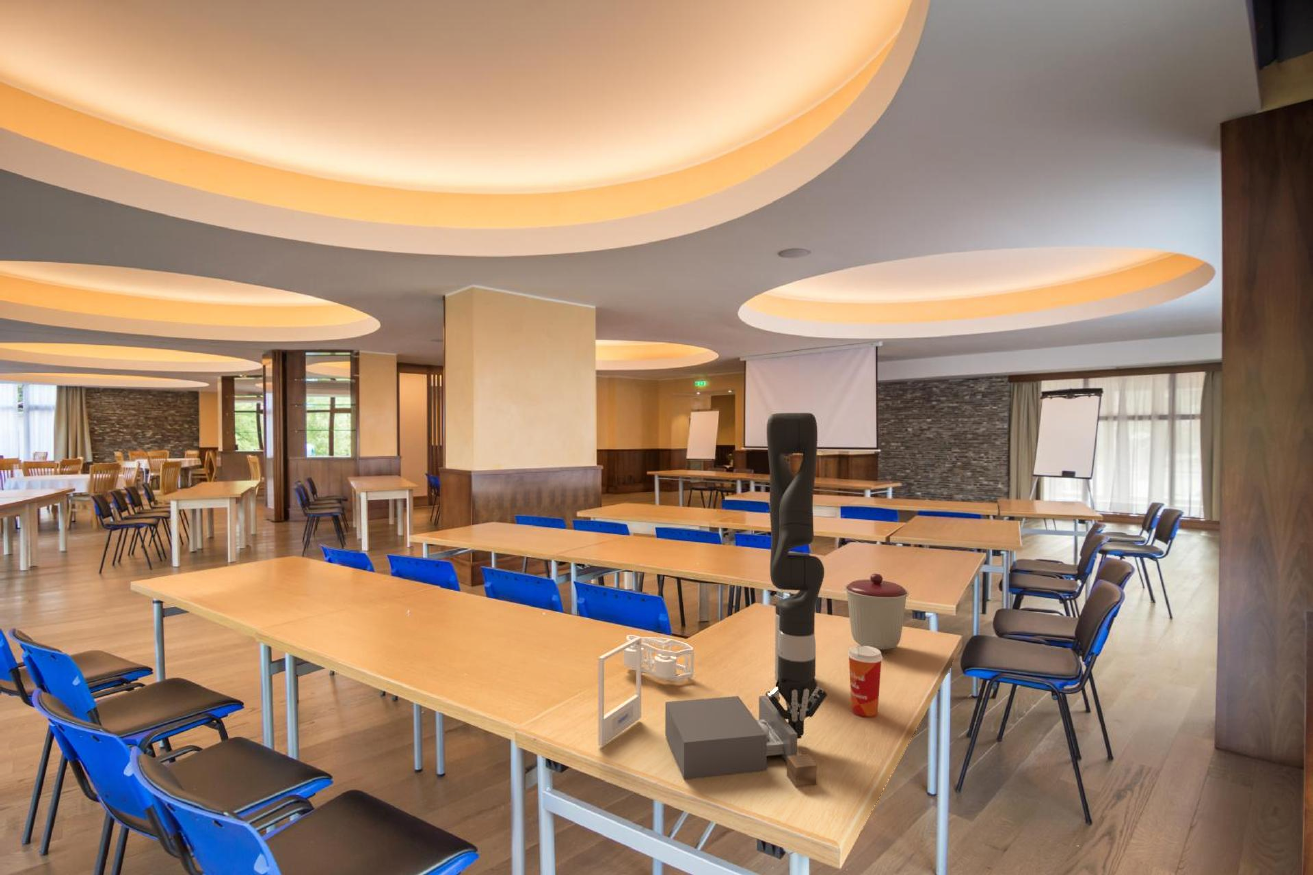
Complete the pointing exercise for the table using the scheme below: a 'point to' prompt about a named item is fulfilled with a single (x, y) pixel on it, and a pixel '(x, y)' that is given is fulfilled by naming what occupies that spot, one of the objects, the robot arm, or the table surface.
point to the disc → (765, 729)
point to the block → (801, 770)
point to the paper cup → (864, 679)
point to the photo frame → (626, 711)
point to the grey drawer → (777, 730)
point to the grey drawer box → (714, 737)
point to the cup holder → (660, 658)
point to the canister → (876, 612)
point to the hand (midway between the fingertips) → (795, 736)
